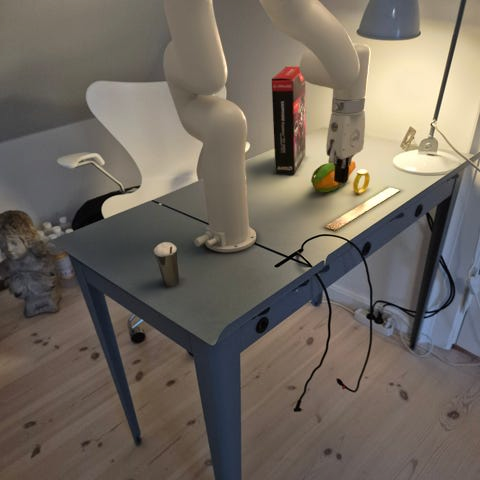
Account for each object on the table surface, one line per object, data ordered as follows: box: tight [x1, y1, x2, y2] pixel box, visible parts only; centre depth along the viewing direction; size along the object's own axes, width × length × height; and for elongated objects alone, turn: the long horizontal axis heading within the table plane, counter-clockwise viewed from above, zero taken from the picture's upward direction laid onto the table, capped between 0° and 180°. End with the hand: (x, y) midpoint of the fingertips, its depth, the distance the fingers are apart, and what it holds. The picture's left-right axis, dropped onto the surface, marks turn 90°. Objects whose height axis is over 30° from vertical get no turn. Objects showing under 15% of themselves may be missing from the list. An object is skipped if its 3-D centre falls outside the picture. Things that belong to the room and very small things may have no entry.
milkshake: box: [153, 241, 180, 288], centre depth 93 cm, size 4×5×10 cm
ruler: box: [324, 187, 401, 232], centre depth 118 cm, size 30×3×1 cm, turn 135°
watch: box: [352, 169, 371, 195], centre depth 124 cm, size 6×3×6 cm, turn 134°
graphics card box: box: [271, 66, 306, 175], centre depth 138 cm, size 17×7×27 cm, turn 162°
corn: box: [310, 160, 357, 194], centre depth 129 cm, size 7×8×20 cm
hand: (340, 181), depth 117 cm, fingers closed
